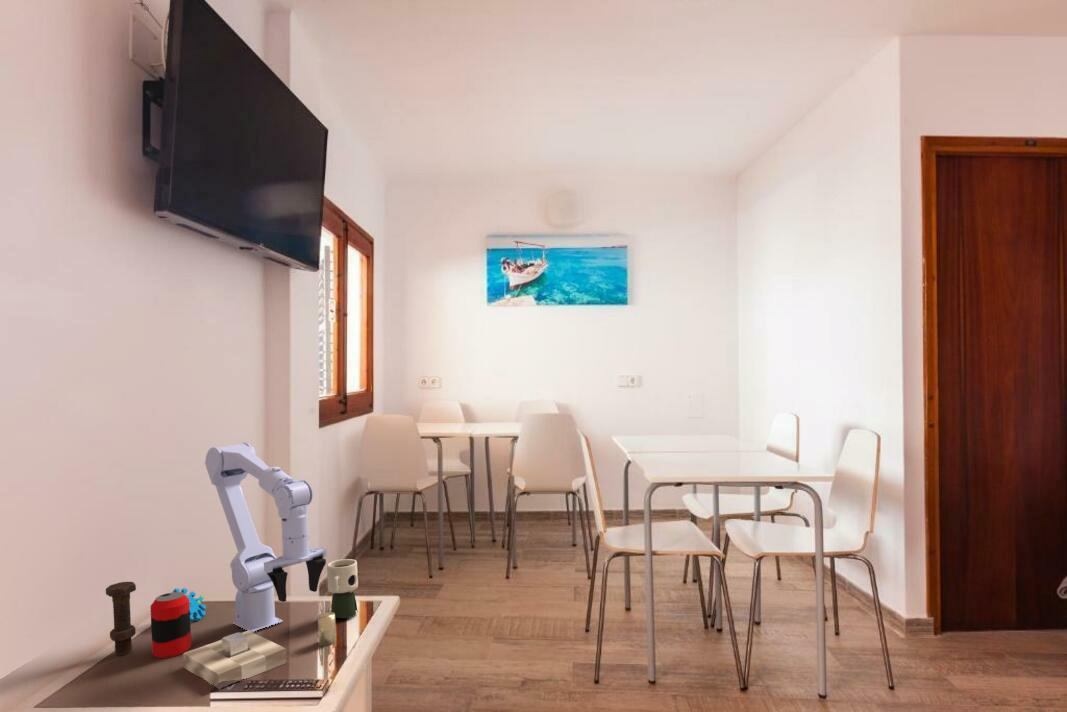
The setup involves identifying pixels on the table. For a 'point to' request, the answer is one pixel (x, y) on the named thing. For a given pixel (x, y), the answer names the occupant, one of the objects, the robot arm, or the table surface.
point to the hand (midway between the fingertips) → (298, 595)
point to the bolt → (122, 616)
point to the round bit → (327, 628)
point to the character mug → (343, 587)
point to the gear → (194, 604)
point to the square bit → (234, 644)
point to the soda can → (170, 625)
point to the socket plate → (234, 660)
